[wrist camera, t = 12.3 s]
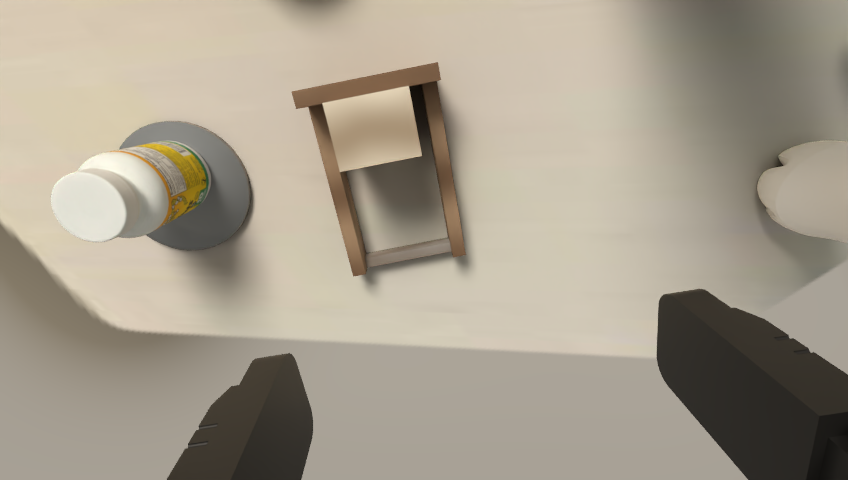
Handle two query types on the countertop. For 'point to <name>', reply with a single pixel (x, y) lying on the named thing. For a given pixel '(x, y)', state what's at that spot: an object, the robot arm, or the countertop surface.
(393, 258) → the rack
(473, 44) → the countertop surface
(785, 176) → the water bottle
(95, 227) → the supplement bottle
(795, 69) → the countertop surface
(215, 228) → the coaster
